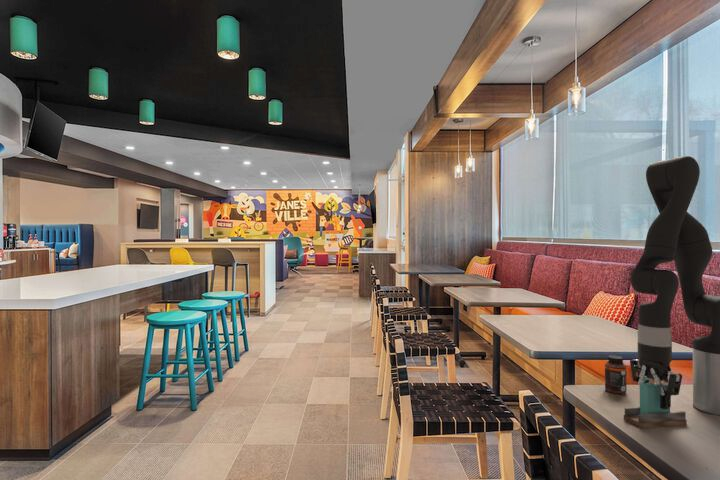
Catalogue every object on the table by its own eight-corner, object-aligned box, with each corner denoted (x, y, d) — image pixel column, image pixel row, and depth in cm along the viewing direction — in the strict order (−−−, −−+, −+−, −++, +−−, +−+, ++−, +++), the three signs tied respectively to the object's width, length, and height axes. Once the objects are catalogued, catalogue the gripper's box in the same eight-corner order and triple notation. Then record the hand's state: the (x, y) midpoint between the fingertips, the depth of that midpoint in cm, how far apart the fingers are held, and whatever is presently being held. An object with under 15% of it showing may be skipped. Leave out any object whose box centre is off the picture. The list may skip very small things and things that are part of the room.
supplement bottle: (630, 395, 126) (629, 360, 126) (609, 394, 127) (609, 358, 127) (621, 388, 132) (621, 354, 132) (602, 387, 133) (601, 353, 133)
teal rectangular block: (661, 414, 109) (661, 381, 109) (669, 418, 107) (669, 385, 107) (639, 416, 108) (639, 383, 108) (647, 420, 106) (647, 386, 106)
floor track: (667, 415, 112) (667, 404, 112) (686, 424, 106) (686, 412, 106) (623, 419, 109) (623, 407, 109) (641, 428, 104) (641, 416, 104)
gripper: (692, 348, 101) (692, 414, 101) (643, 335, 115) (643, 393, 115) (666, 349, 100) (667, 416, 100) (620, 336, 114) (621, 394, 114)
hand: (654, 403), depth 108 cm, fingers open, 5 cm apart
